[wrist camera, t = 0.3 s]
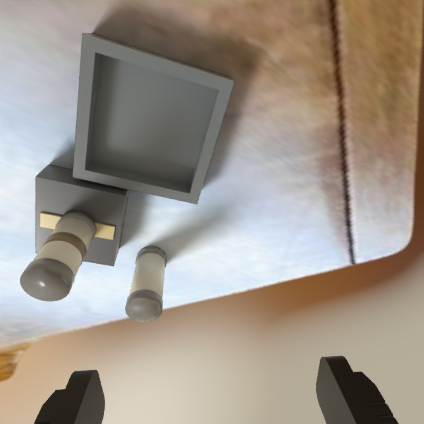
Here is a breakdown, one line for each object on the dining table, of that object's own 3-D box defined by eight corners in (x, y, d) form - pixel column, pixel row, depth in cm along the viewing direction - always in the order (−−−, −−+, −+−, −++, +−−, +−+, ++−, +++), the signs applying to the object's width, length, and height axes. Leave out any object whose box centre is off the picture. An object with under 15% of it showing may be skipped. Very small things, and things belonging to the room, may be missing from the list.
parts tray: (91, 33, 24) (82, 33, 22) (230, 77, 27) (234, 81, 25) (80, 167, 30) (72, 177, 28) (196, 193, 32) (197, 204, 30)
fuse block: (48, 164, 30) (34, 177, 27) (130, 182, 31) (124, 196, 28) (46, 236, 34) (34, 254, 31) (118, 249, 35) (113, 267, 33)
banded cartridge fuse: (59, 208, 28) (19, 263, 22) (98, 215, 29) (71, 271, 22) (58, 237, 30) (20, 297, 23) (94, 244, 31) (69, 304, 24)
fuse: (139, 244, 35) (128, 294, 28) (169, 249, 36) (165, 299, 29) (134, 266, 37) (122, 319, 30) (163, 271, 38) (158, 324, 31)
